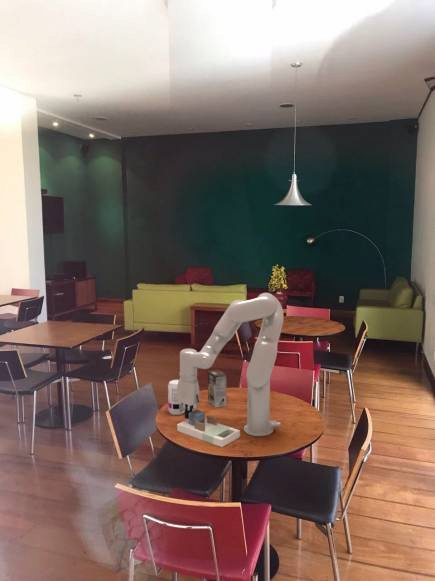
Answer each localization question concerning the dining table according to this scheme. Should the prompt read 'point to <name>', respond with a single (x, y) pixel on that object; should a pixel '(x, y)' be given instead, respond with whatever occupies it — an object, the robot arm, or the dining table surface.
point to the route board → (210, 431)
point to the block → (196, 417)
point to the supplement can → (174, 399)
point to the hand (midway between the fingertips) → (188, 417)
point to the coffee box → (217, 388)
